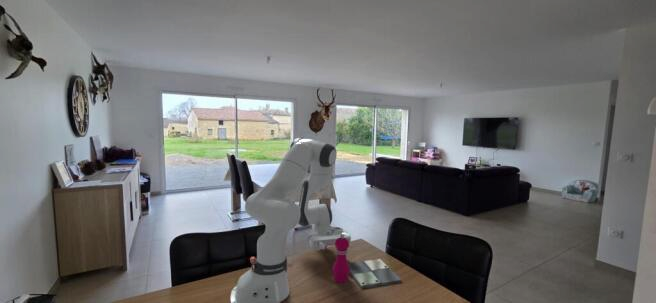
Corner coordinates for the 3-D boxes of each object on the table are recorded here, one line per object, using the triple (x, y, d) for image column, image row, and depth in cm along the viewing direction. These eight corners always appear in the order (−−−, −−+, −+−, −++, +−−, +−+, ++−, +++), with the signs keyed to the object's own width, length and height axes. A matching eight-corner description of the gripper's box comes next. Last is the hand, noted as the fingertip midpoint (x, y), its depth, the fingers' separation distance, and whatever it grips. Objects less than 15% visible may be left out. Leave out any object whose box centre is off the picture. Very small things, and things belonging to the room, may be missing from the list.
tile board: (361, 288, 113) (361, 285, 112) (344, 265, 131) (344, 263, 130) (401, 281, 118) (401, 279, 118) (380, 260, 136) (380, 258, 136)
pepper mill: (348, 284, 115) (349, 238, 113) (331, 282, 117) (332, 237, 115) (350, 275, 122) (351, 232, 120) (334, 273, 124) (335, 230, 122)
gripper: (306, 230, 136) (313, 242, 123) (344, 227, 142) (355, 237, 129) (306, 243, 136) (313, 255, 123) (344, 239, 143) (355, 250, 130)
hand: (335, 246), depth 126 cm, fingers open, 8 cm apart
